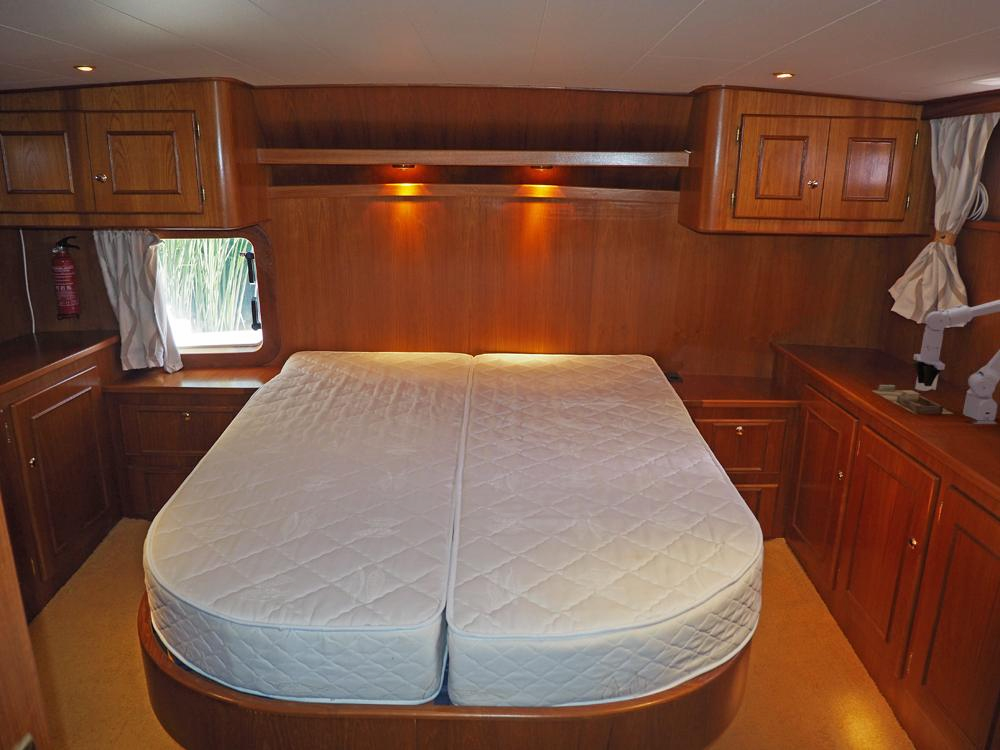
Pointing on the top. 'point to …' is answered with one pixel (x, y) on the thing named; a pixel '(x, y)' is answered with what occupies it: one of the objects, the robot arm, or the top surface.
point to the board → (892, 394)
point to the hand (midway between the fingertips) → (924, 384)
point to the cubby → (927, 406)
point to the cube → (911, 396)
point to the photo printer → (925, 388)
